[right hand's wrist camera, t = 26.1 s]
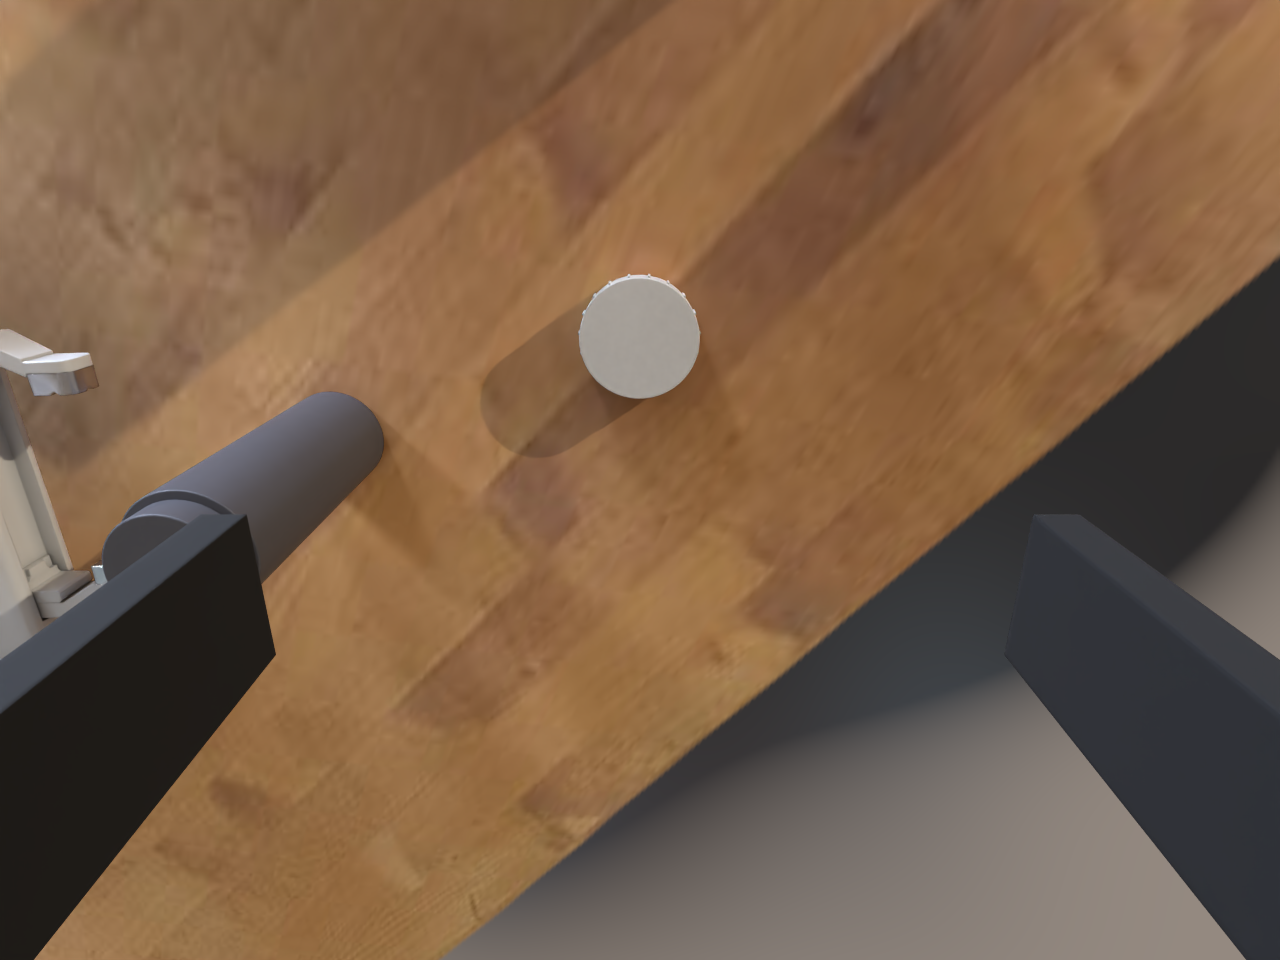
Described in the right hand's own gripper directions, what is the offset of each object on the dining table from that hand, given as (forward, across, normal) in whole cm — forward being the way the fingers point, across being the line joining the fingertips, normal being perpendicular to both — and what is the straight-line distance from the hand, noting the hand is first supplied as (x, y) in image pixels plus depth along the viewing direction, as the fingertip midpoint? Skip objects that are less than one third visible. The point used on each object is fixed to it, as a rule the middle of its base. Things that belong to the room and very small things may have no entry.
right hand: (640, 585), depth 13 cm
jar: (+26, +16, +6) cm, 31 cm away
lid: (+25, 0, 0) cm, 25 cm away
